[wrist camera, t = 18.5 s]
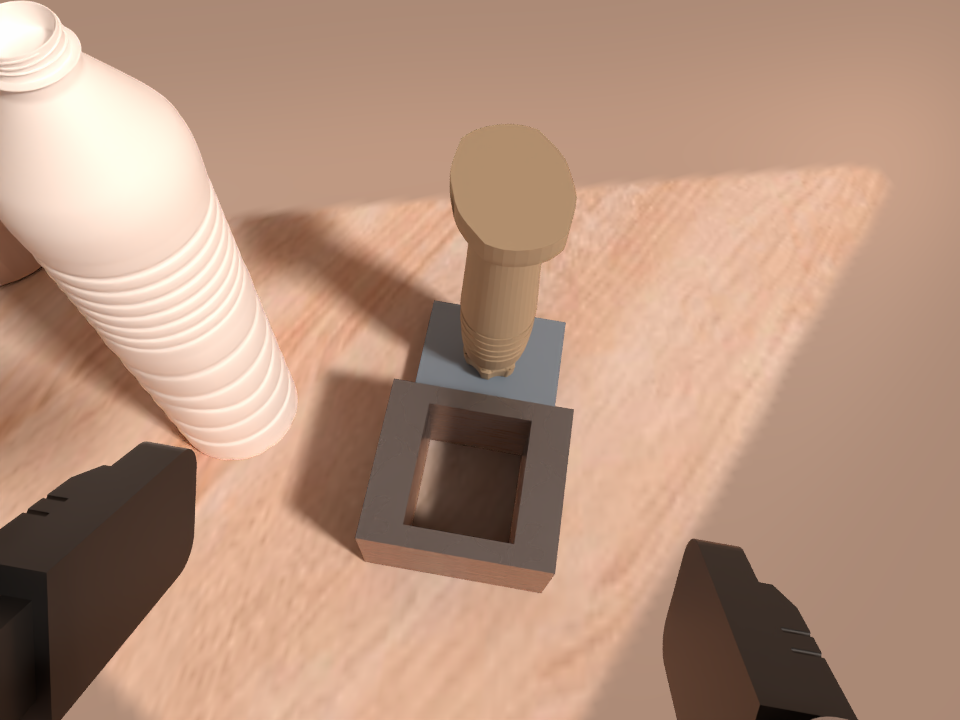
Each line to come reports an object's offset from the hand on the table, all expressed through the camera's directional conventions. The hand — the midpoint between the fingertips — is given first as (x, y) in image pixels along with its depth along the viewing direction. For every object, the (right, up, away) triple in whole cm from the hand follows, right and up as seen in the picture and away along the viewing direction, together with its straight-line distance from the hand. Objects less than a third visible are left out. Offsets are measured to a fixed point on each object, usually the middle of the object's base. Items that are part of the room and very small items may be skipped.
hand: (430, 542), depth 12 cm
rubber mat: (+1, +3, +31) cm, 32 cm away
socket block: (0, -5, +28) cm, 28 cm away
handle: (+1, +3, +31) cm, 31 cm away
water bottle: (-13, +1, +30) cm, 33 cm away
